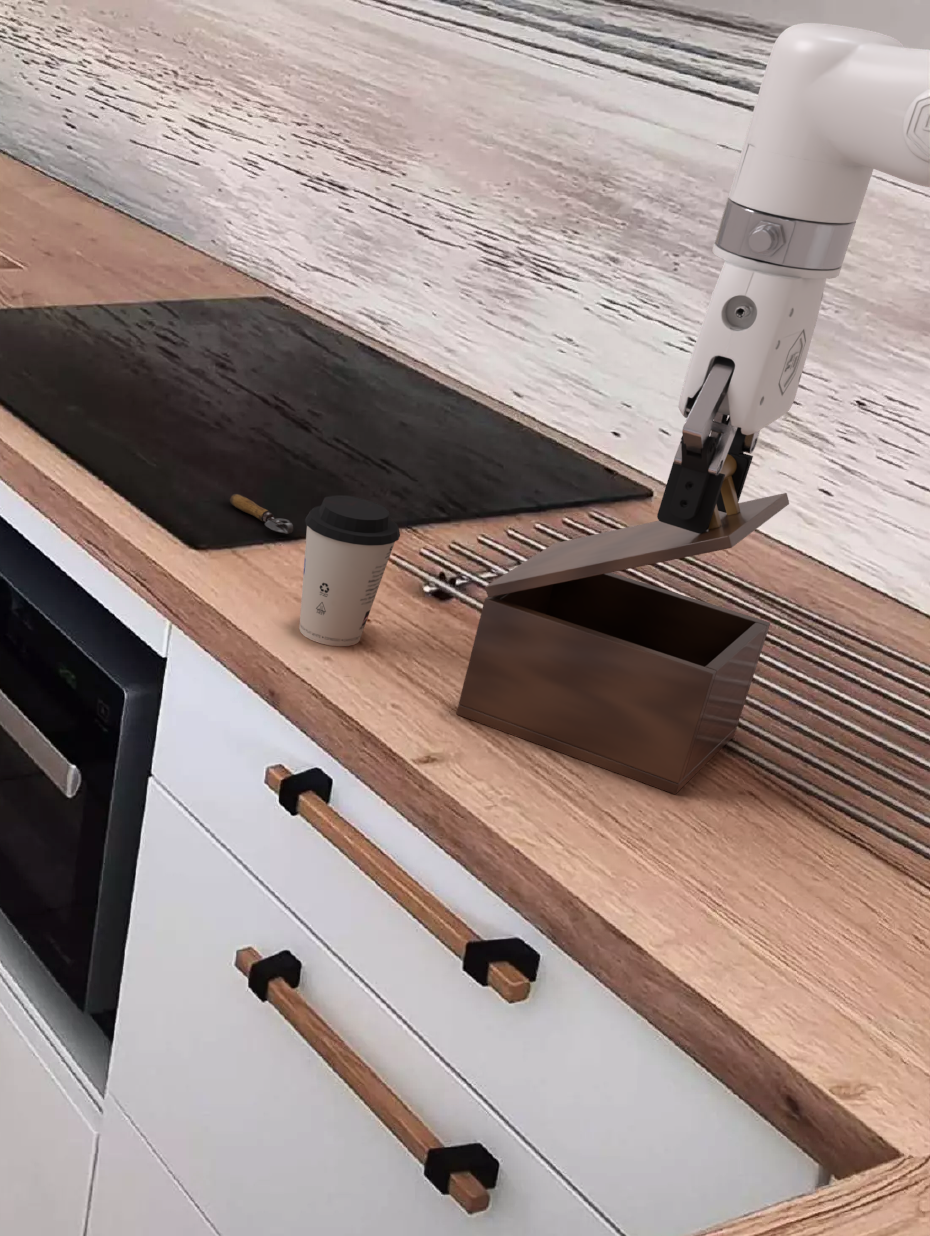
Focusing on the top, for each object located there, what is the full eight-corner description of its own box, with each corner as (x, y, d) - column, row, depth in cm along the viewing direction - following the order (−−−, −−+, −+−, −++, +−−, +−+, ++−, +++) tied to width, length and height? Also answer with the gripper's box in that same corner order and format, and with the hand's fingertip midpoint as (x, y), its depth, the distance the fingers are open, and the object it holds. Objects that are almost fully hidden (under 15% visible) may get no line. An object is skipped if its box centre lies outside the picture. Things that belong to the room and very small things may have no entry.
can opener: (227, 505, 173) (229, 492, 172) (251, 505, 174) (253, 492, 173) (278, 538, 165) (280, 524, 165) (302, 538, 166) (304, 524, 165)
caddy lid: (789, 503, 132) (772, 434, 132) (732, 548, 123) (713, 473, 123) (556, 553, 143) (539, 489, 143) (487, 597, 134) (468, 529, 133)
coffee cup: (395, 648, 148) (424, 522, 143) (319, 657, 145) (346, 528, 140) (339, 611, 153) (365, 488, 149) (265, 619, 150) (289, 494, 146)
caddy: (733, 736, 140) (770, 622, 136) (675, 794, 130) (713, 673, 126) (524, 664, 148) (553, 554, 143) (455, 714, 138) (484, 598, 134)
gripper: (805, 272, 114) (711, 565, 122) (880, 237, 126) (790, 505, 135) (676, 242, 117) (594, 528, 126) (762, 210, 130) (681, 473, 138)
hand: (696, 513), depth 130 cm, fingers open, 5 cm apart
